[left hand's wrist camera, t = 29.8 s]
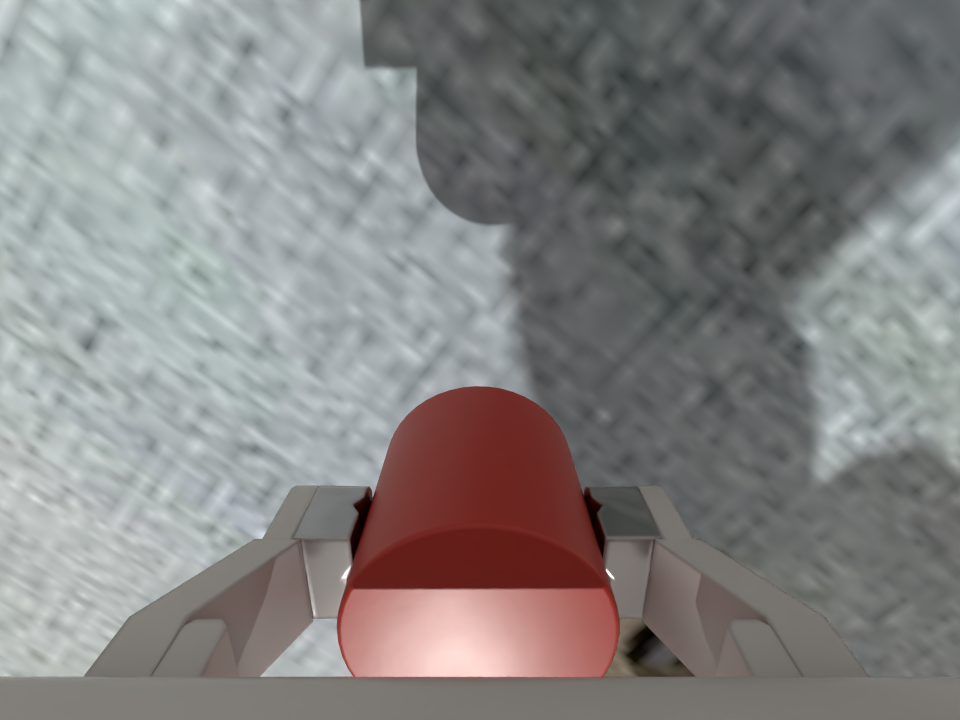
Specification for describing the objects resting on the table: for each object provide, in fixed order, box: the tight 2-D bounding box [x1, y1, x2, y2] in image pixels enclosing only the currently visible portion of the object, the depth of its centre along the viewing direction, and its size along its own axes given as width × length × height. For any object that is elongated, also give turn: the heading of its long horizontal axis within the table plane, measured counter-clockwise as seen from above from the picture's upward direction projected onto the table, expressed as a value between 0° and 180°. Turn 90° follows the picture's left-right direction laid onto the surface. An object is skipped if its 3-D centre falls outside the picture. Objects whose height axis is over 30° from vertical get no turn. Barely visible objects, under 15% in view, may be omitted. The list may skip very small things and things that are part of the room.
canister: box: [337, 386, 619, 677], centre depth 10 cm, size 4×4×5 cm
